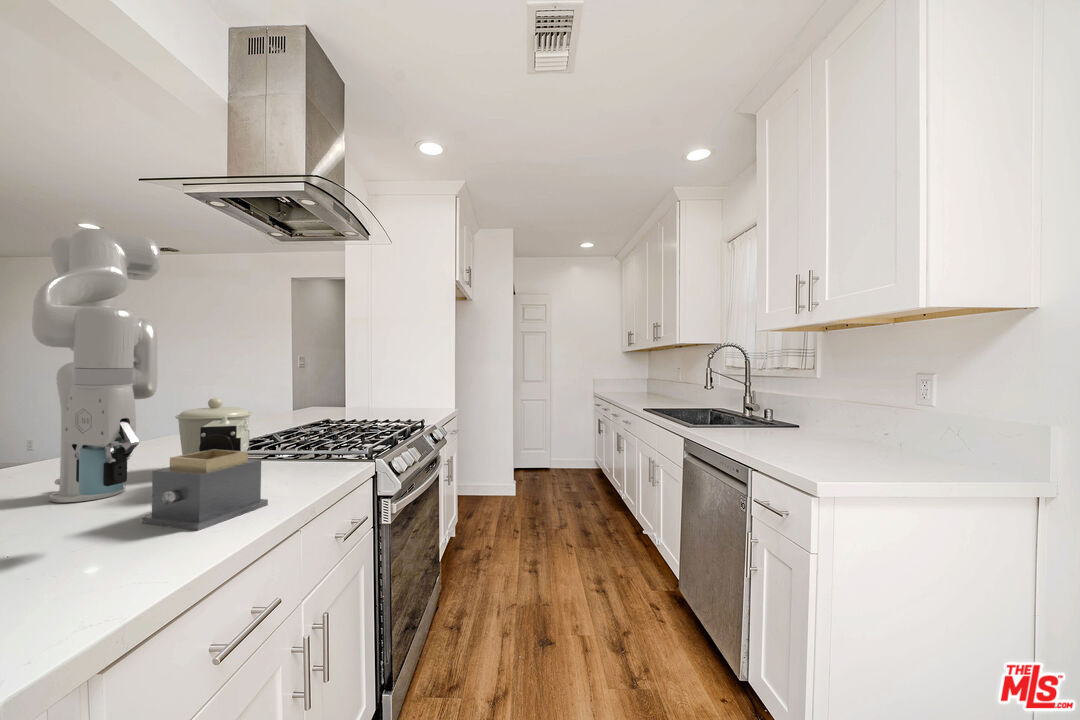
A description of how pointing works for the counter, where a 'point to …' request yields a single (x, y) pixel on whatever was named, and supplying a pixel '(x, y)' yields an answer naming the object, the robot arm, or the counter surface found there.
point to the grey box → (205, 489)
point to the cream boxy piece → (224, 435)
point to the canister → (205, 422)
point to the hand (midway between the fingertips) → (101, 481)
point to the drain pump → (94, 471)
